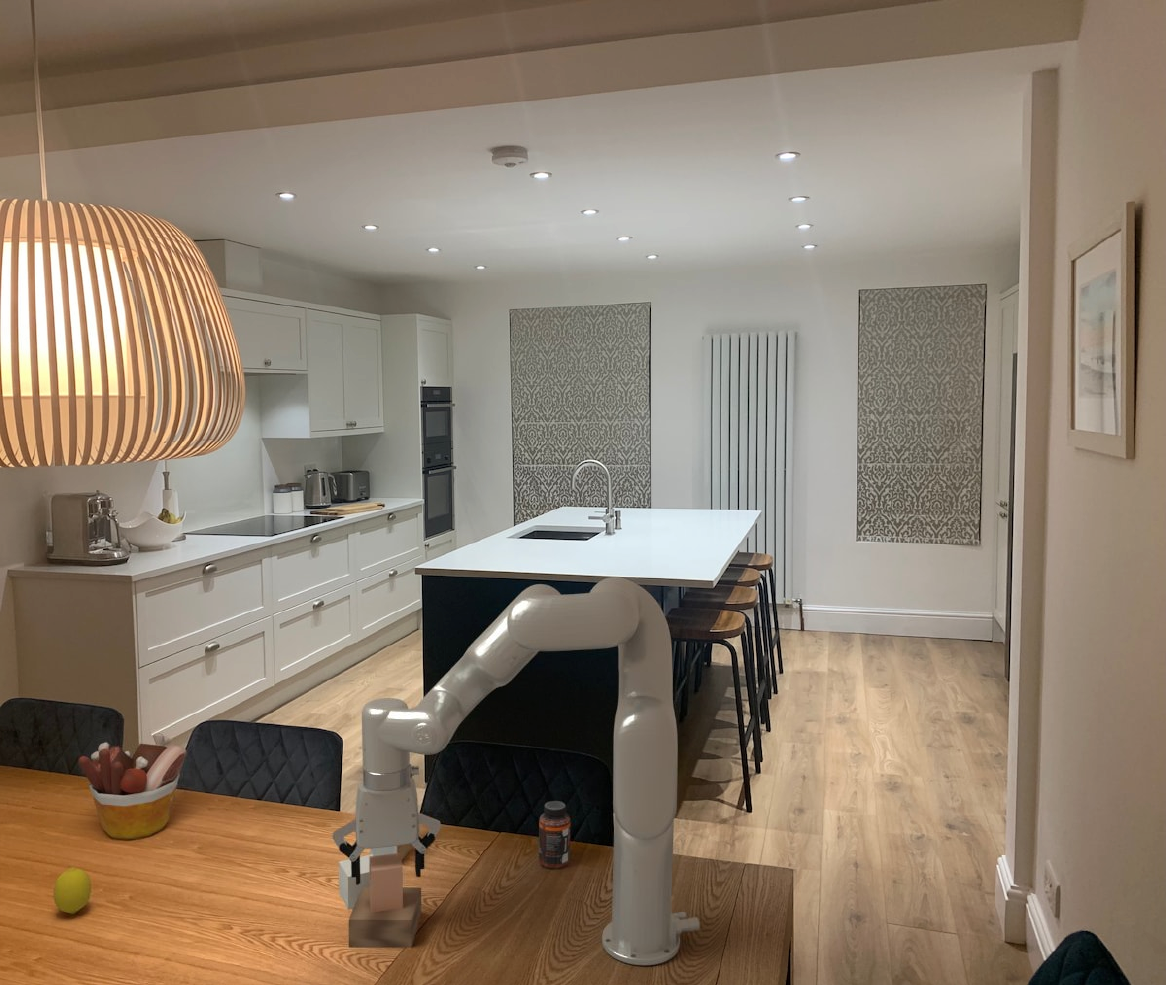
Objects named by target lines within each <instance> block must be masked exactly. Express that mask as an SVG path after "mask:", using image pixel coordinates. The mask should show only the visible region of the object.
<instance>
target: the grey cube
mask: <svg viewBox="0 0 1166 985" xmlns="http://www.w3.org/2000/svg"><path fill="white" fill-rule="evenodd" d="M369 856H373V854H370V853H369V854H367V855H361V856H360V884H359V885H356V877H353V878H351V861H350V860H349V858H347V859H345V860H340V861H338V894H339V896H340V897H342V898H341V899H342V902H343V901H344V902H343V904H344V903H345V904H344V906H345V905H346V906H345V907H346V910H347V911H349V909H350V910H353V908H354V905H355V903H356V901H357V898H358V896H359V894H360V891H361V889H362V887H369Z"/></svg>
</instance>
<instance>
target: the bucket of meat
mask: <svg viewBox="0 0 1166 985" xmlns="http://www.w3.org/2000/svg"><path fill="white" fill-rule="evenodd" d="M152 739H153V742H154V744H147V743H139V745H138V746H137V749H135V752H134V753H133V756H132V757H131V752H130V751H129V750H127V751H124V750H123V749H122V747H121V746H119V745H116V746H115V745H113V746H110V744H109V743H108V742H106V741H105V742H103V743H101V744H99V746H98V749H97V750H96V751H95V752H93V753H92V754H91V755H90V757H88V756H85V755H82V756H80V757H79V758H78V761H77V765H78V766H79V768H80V769H81V771H82V772H83V774H84V775H85V777H86V779H87V780H88V781H89V783H90V784H89V789H90V791H91V794H92V797H93V800H94V804H95V808H96V811H97V814H98V818H99V821H100V825H101V828H102V830H104V832H106V834H107V835H108V836H109V837H110V838H112V839H114V840H124V841H132V840H137V839H143V838H147V837H150V836H152V835H154V834H157V833H158V832H160V831H162V830H163V828H164V827H166V825H167V823H168V822H169V819H170V818H171V814H172V809H173V805H174V801H175V795H176V790H177V786H178V781H179V778H180V773H181V772H180V771H181V768H182V766H183V763H184V761H185V758H186V756H187V749H185V748H182V747H180V746H178V745H175V744H170V743H171V738H170V737H167V736H164V735H163V733H162V732H161V733H160V732H157V733H154V734H153V735H152ZM169 744H170V745H169ZM167 745H169V746H167Z"/></svg>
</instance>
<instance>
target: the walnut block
mask: <svg viewBox="0 0 1166 985" xmlns="http://www.w3.org/2000/svg"><path fill="white" fill-rule="evenodd" d="M421 916H422V887H417V886H416V887H415V886H414V887H413V886H412V887H411V886H410V887H409V886H408V887H405V886H403V908H402V909H395V910H387V911H380V912H372V913H371V905H370V888H369V887H362V889H361V891H360V894H359V896H358V898H357V901H356V903H355V905H354V908H353V909H351V913H350V915H349V918H348V948H362V949H363V948H375V949H376V948H382V949H383V948H384V949H385V948H386V949H387V948H389V949H390V948H395V949H397V948H398V949H401V948H402V949H403V948H404V949H411V948H412V947H413V943H414V940H415V938H416V934H417V930H418V927H419V922H420V919H421Z"/></svg>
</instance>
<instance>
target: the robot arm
mask: <svg viewBox="0 0 1166 985" xmlns="http://www.w3.org/2000/svg"><path fill="white" fill-rule="evenodd" d="M660 606H661V605H659V603H658V601H656V598H654V597H653V596H652V594H651V593H650V592H648V591H647V590H646V589H645V588H644V587H642V586H640V585H639V584H637V583H635V582H633V581H632V580H630V579H626V578H623V577H618V576H613V577H611V576H610V577H607V578H604V579H602V580H600V581H599V582H597V583H596V584H595V585H594V586H593V587H592V589H590V591H589V592H586V593H574V594H561V593H560V592H559V590H557V589H556V588H554V587H552V586H550V585H548V584H542V583H539V584H537V583H536V584H533V585H530V586H529V587H526V588H525V589H524V590H522V591H521V592H520V593H519V594H518V595H517V596H516V597H515V599H513V600H512V601H511V602H510V603H509V605H508V606H507V607H506V608H505V609H504V610H502V612H501V613H500V614H499V615H498V616H497V618H495V620H494V621H492V623H491V624H490V625H488V627H487V628H486V629H485V630H484V631H483V632H482V633H481V634H480V635H479V636H478V637H477V638H476V639H475V640H474V641H473V643H471V645H470V646H468V648H467V650H466V651H465V653H464V654H463V656H462V657H461V658H460V659H459V660H458V661H457V662H455V664H454V665H453V666H452V667H451V668H450V670H449V671H448V672H446V673H445V675H444V676H443V677H442V678H441V679H440V680H439V681H438V682H437V683H436V684H435V685H434V686H433V687H432V688H431V689H430V690H429V692H428V691H427V693H426V694H425V695H424V697H423V698H422V699H421V700H420V701H419V702H418V704H417V705H416V706H414V707H412V708H411V707H410V708H409V706H408V704H407V702H405V701H404V700H402V699H399V698H394V697H382V698H378V699H377V698H376V699H373V700H371V701H368V702H367V703H366V704H364V706H363V707H362V711H361V742H362V743H361V746H362V748H361V749H362V752H361V754H362V781H361V782H359V783H358V787H357V792H356V796H355V797H356V798H355V800H356V801H355V819H353V820H352V821H350V822H348V823H346V824H344V825H343V826H341V827H340V828H338V829H336V830H334V831H333V832H332V839H333V841H334V843H335V845H336V846H337V847H338V849H339V852H341V853H342V854H343V855H344V856H346V857H347V859H349V860H350V861H351V878H353V877H356V885H359V884H360V857H361V854H362V853H363V852H364V850H370V849H372V848H381V847H390V846H399V845H407V844H412V845H413V848H414V871H415V877H417V878H421V877H422V876H421V874H422V873H421V870H425V853H426V852H427V849H428V848H429V847H430V846H431V845H432V844H433V842H435V840H436V837H437V836H438V834H439V832H440V830H441V827H442V825H441V821H440V820H439V819H436V818H433V817H431V816H428V815H426V814H423V813H421V812H419V801H418V793H417V787H416V783H415V779H414V778H413V776H414V777H415V776H417V775H419V774H420V767H419V765H417V766H415V765H413V764H411V761H410V760H411V758H410V757H411V753H413V754H418V755H425V756H426V755H427V756H428V755H436V754H438V753H440V752H442V751H443V750H444V749H445V748H446V747H447V745H448V744H449V742H450V740H451V739H452V738H453V736H454V734H455V732H456V730H457V729H458V727H459V725H460V724H461V723H462V722H463V721H464V720H465V719H466V717H468V715H469V714H470V713H471V712H472V711H473V710H474V709H475V708H476V706H477V705H479V704H480V703H481V701H483V700H484V699H485V697H487V696H488V695H489V694H490V693H491V692H492V691H494V690H495V689H496V688H499V687H503V686H506V685H507V684H509V683H510V682H511V681H512V680H513V679H514V678H515V677H516V676H517V675H518V674H519V673H520V672H521V671H522V669H523V668H524V667H525V666H526V665H527V664H529V662H530V661H531V660H532V659H533V658H534V657H535V656H537V654H538V652H560V651H561V652H562V651H579V650H581V651H582V650H597V649H609V648H610V649H611V648H614V647H617V648H618V700H617V701H618V702H617V709H616V713H615V717H614V727H613V785H612V786H613V790H612V791H613V796H612V797H613V800H612V801H613V802H612V805H613V807H612V809H613V813H614V820H613V822H614V826H613V828H614V829H613V830H614V831H613V860H612V861H613V864H612V901H611V904H612V905H611V906H612V907H611V910H612V911H611V912H612V913H611V922H609V923H607V925H605V927H604V929H603V931H602V935H601V942H602V946H603V949H604V950H605V951H606V952H607V953H608V954H609V955H610V956H611V957H613V958H614V959H616V960H619V961H620V962H622V963H626V964H629V965H636V966H653V965H659V964H662V963H665V962H667V961H669V960H671V959H672V958H673V957H674V956H676V954H678V953H679V949H680V947H681V938H680V935H682V933H683V932H692V931H693V932H694V931H700V921H699V918H698V917H697V916H695V917H688V918H687V913H686V912H685V911H680V912H675V913H673V912H672V890H673V886H672V885H673V857H674V856H673V854H674V825H675V824H674V822H675V817H676V814H677V808H678V807H677V804H678V754H679V753H678V752H679V751H678V748H679V747H678V728H677V719H676V715H675V714H676V713H675V709H674V700H673V698H674V697H673V696H674V693H673V690H674V689H673V688H674V686H673V680H674V679H673V676H674V674H673V650H672V648H673V647H672V638H671V633H670V629H669V624H668V621H667V619H666V616H665V613H664V612H663V610H662V608H661V607H660ZM420 825H422V826H425V827H427V828H429V830H428V831H427V833H425V834H424V836H423V837H422V836H421V835H420ZM353 832H355V841H354V842H353V843H352V845H351V844H350V843H349V842H348V841H347V840H345V837H346V836H348V835H350V834H352V833H353Z"/></svg>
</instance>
